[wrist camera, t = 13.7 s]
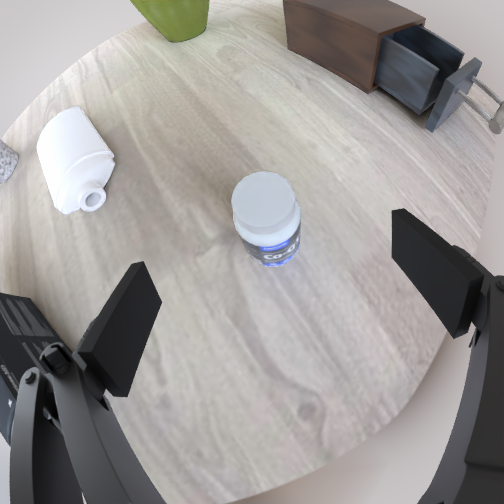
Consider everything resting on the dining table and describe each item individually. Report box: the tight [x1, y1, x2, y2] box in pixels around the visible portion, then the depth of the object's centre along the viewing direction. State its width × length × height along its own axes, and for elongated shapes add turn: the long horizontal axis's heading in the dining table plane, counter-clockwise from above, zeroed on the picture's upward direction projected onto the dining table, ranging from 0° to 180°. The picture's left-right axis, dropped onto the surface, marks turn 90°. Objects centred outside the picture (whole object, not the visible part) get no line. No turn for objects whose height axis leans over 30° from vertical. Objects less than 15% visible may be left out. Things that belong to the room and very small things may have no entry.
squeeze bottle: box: [37, 106, 115, 215], centre depth 30 cm, size 10×20×5 cm, turn 41°
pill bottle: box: [231, 171, 301, 267], centre depth 21 cm, size 5×5×8 cm
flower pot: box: [130, 0, 209, 42], centre depth 32 cm, size 15×15×16 cm
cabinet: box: [283, 0, 426, 94], centre depth 27 cm, size 15×13×10 cm
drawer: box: [373, 24, 504, 134], centre depth 23 cm, size 20×11×8 cm, turn 39°
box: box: [0, 293, 73, 447], centre depth 19 cm, size 17×7×12 cm, turn 59°
